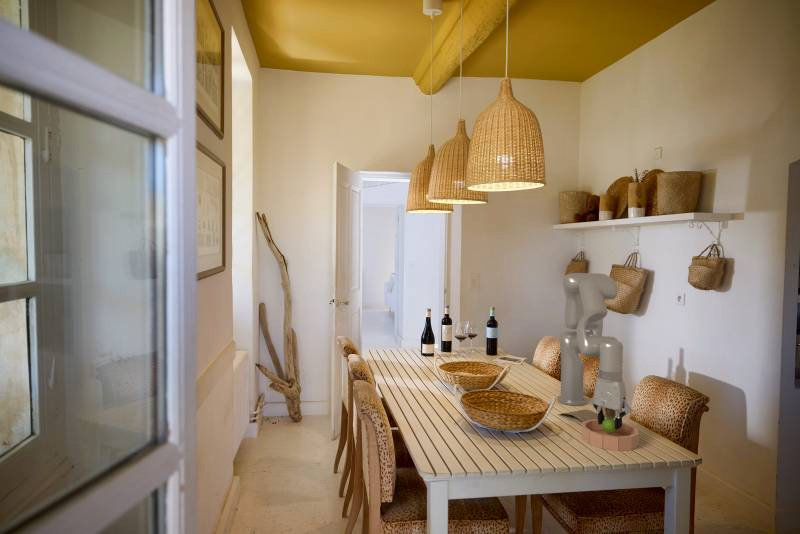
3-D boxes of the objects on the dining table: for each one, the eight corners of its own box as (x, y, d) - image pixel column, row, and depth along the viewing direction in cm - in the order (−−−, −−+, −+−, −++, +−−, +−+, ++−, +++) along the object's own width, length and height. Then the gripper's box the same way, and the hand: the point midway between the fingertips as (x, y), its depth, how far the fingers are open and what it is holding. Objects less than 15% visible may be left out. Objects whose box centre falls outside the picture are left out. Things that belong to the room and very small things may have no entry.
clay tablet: (608, 423, 197) (608, 416, 197) (588, 428, 191) (588, 420, 191) (575, 412, 211) (575, 405, 211) (556, 416, 205) (556, 409, 205)
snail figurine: (596, 432, 179) (596, 399, 179) (610, 429, 181) (610, 397, 181) (607, 437, 174) (608, 403, 174) (621, 435, 176) (622, 401, 176)
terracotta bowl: (598, 427, 190) (598, 415, 190) (647, 442, 176) (647, 429, 176) (571, 438, 179) (572, 426, 179) (622, 455, 164) (622, 441, 164)
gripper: (582, 372, 181) (581, 421, 182) (629, 382, 168) (628, 435, 168) (593, 369, 186) (592, 417, 186) (640, 378, 173) (638, 430, 173)
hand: (609, 425), depth 177 cm, fingers closed on snail figurine, 5 cm apart
